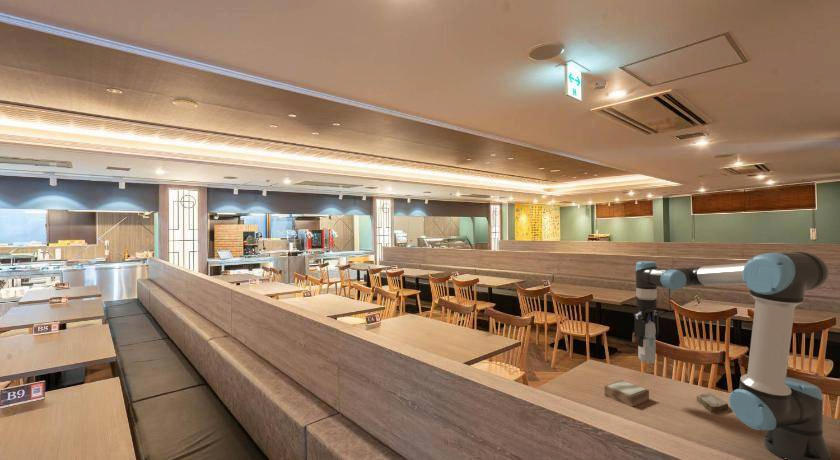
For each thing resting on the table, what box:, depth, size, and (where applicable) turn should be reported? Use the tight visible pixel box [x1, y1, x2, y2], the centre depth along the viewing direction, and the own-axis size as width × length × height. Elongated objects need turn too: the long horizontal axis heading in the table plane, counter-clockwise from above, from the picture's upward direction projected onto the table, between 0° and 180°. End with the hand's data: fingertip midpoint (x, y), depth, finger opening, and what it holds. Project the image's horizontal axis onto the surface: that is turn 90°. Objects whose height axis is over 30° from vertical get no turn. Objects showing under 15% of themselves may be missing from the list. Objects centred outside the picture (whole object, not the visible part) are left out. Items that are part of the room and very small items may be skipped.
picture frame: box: [604, 379, 650, 408], centre depth 161 cm, size 12×12×4 cm
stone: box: [696, 392, 729, 415], centre depth 152 cm, size 15×8×3 cm, turn 169°
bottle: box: [637, 316, 657, 365], centre depth 159 cm, size 7×7×20 cm
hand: (647, 352), depth 159 cm, fingers closed on bottle, 6 cm apart
